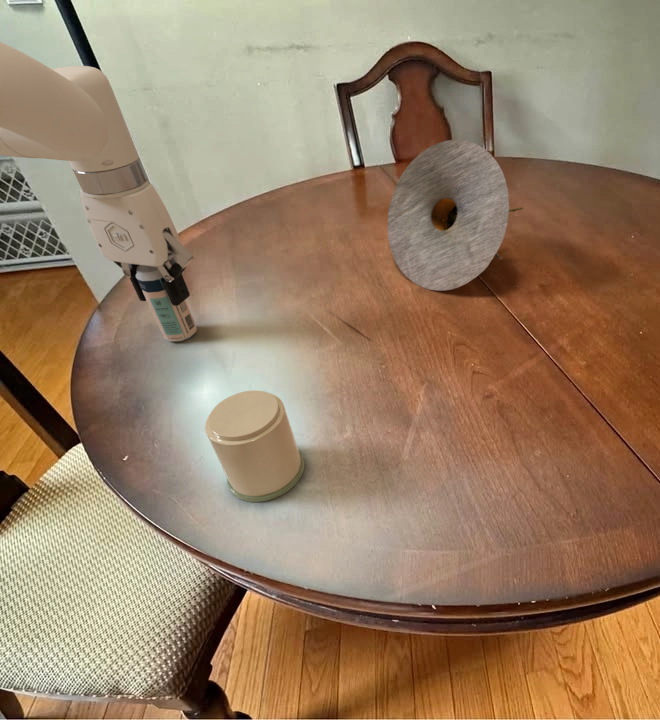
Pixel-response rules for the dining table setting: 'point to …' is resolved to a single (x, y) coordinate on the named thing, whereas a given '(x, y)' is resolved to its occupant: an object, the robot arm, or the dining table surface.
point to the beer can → (165, 305)
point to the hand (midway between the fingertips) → (165, 297)
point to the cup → (255, 445)
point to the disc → (448, 215)
